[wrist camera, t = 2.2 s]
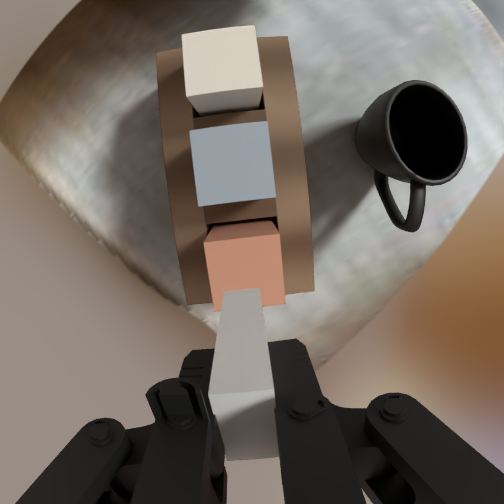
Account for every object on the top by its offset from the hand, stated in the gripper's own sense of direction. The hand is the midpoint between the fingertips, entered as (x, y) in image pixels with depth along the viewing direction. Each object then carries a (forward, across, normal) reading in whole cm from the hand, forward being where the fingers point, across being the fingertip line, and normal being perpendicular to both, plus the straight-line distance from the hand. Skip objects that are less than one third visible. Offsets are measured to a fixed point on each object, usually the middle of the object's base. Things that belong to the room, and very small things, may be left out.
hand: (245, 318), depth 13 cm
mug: (+17, +14, +7) cm, 23 cm away
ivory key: (+12, 0, +13) cm, 18 cm away
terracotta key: (+12, 0, 0) cm, 12 cm away
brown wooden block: (+17, 0, +7) cm, 18 cm away
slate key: (+12, 0, +7) cm, 14 cm away
